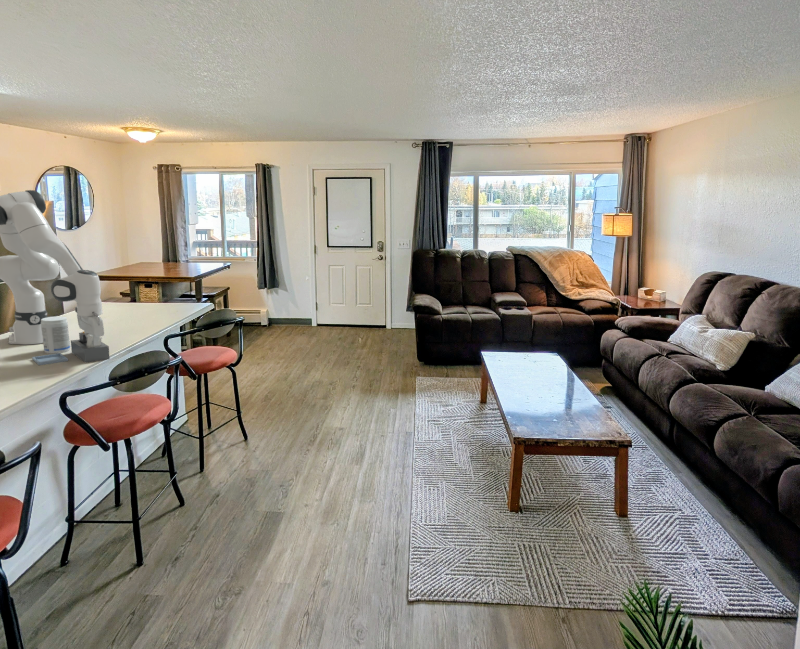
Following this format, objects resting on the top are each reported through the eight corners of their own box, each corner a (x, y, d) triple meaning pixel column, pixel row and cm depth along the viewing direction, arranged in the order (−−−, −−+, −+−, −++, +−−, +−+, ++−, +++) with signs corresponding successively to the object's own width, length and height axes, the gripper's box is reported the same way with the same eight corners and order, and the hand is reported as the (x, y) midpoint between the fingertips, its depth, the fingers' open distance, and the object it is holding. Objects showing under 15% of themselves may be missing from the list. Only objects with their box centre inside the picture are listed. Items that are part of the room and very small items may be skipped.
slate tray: (32, 360, 215) (32, 357, 215) (60, 356, 222) (60, 353, 222) (39, 366, 209) (38, 362, 208) (68, 362, 216) (67, 358, 215)
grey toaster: (71, 354, 227) (69, 331, 225) (95, 350, 233) (93, 329, 231) (85, 363, 215) (83, 340, 213) (109, 360, 221) (108, 337, 219)
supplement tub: (73, 348, 235) (71, 316, 232) (65, 354, 226) (62, 320, 223) (49, 349, 233) (46, 316, 230) (39, 354, 224) (36, 320, 221)
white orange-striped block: (85, 353, 221) (88, 334, 220) (94, 353, 223) (97, 334, 223) (89, 356, 217) (92, 336, 217) (99, 356, 220) (101, 336, 220)
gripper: (107, 313, 212) (109, 347, 215) (90, 305, 226) (92, 337, 229) (89, 315, 208) (92, 349, 211) (73, 307, 221) (76, 339, 224)
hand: (92, 343), depth 220 cm, fingers open, 7 cm apart
